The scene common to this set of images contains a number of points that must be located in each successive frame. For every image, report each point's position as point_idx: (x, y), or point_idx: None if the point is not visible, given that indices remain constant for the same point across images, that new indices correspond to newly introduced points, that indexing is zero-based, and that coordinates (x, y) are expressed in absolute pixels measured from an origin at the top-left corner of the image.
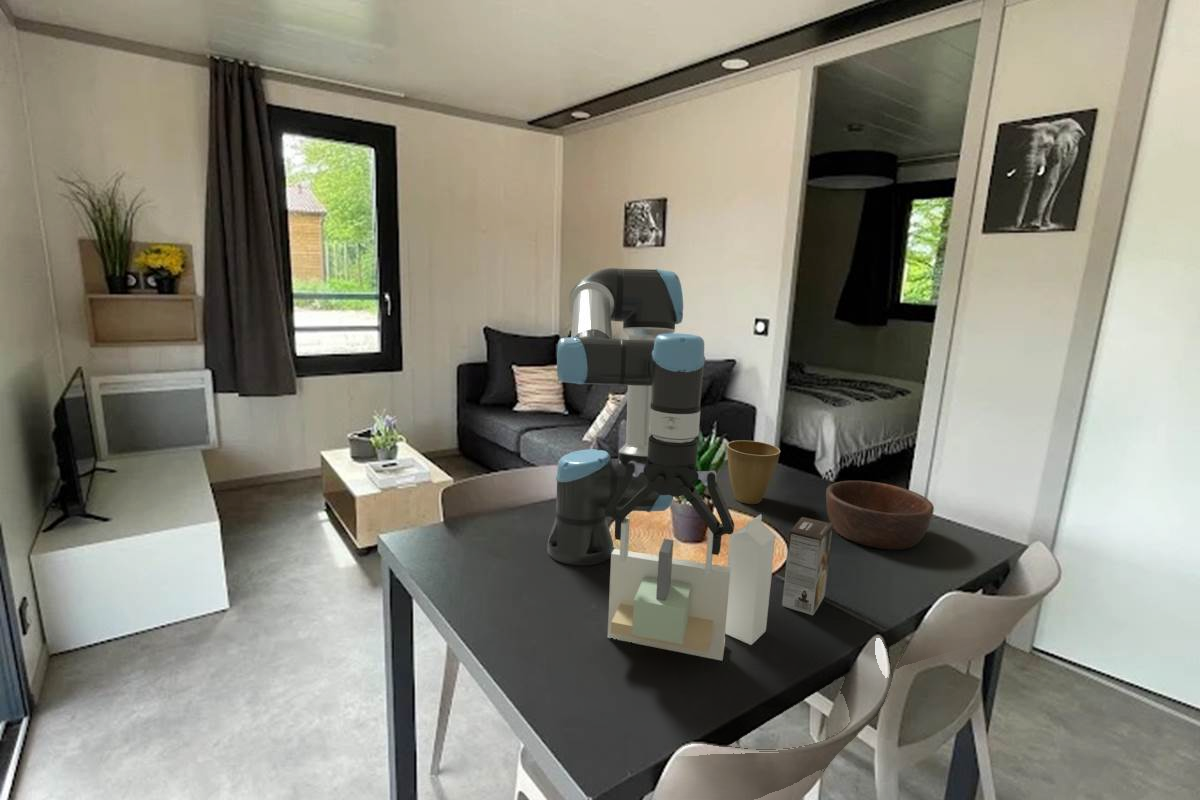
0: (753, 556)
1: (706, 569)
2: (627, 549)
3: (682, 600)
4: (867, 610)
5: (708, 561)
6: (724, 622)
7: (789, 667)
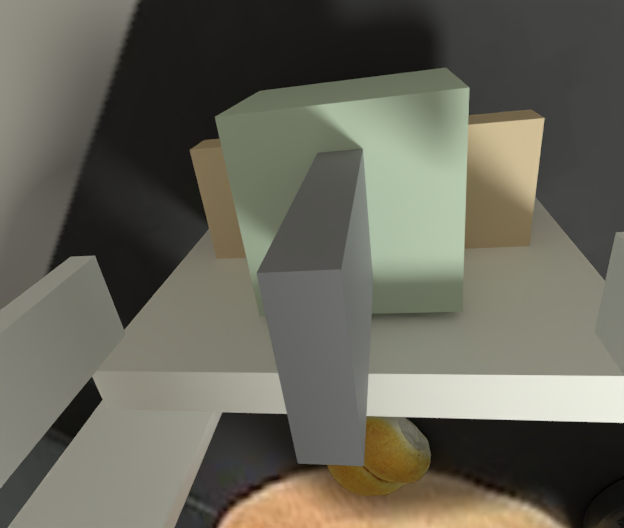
0: (67, 487)
1: (65, 274)
2: (621, 344)
3: (249, 185)
4: (44, 450)
5: (20, 305)
6: (186, 260)
7: (93, 243)
